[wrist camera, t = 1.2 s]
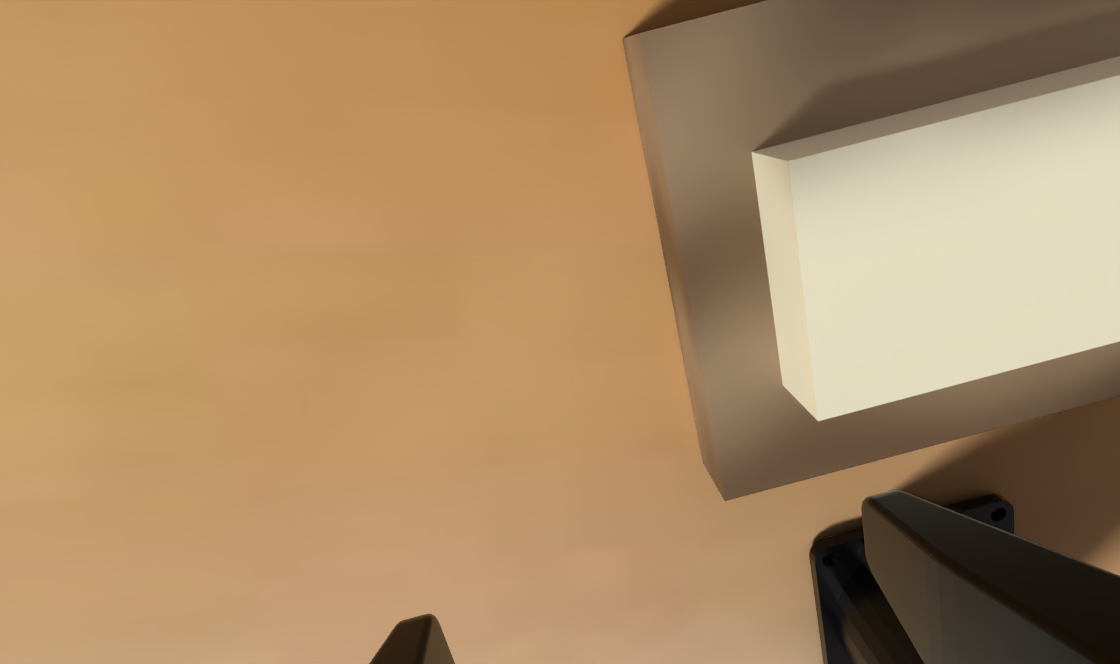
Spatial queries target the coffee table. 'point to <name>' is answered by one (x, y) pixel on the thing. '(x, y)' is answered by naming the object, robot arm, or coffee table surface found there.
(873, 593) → the robot arm
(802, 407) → the plate
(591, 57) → the coffee table surface
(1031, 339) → the tile
